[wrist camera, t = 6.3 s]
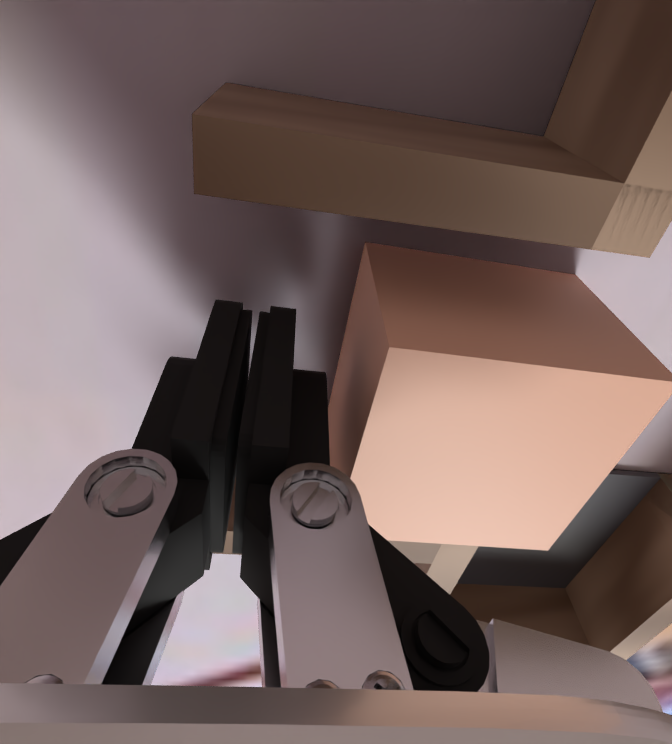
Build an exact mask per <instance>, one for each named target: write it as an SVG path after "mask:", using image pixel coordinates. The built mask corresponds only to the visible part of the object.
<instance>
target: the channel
mask: <svg viewBox="0 0 672 744" xmlns="http://www.w3.org/2000/svg"><path fill="white" fill-rule="evenodd" d="M192 135H193V172H194V194H199V195H206V196H213V197H220V198H227V199H234V200H241V201H249V202H256V203H263V204H270V205H277V206H284V207H291V208H299V209H306V210H313V211H320V212H327V213H334V214H341V215H349V216H356V217H363V218H370V219H377V220H384V221H391V222H399V223H406V224H413V225H420V226H427V227H434V228H441V229H449V230H456V231H463V232H470V233H477V234H484V235H491V236H499V237H506V238H513V239H520V240H527V241H534V242H541V243H548V244H556V245H563V246H570V247H577V248H584V249H591V250H598V251H606V252H613V253H620V254H627V255H634V256H641V257H648V258H650V256H651V254H652V253H653V251H654V249H655V248H656V246H657V244H658V243H659V241H660V239H661V238H662V236H663V234H664V233H665V231H666V229H667V227H668V226H669V224H670V222H671V221H672V0H596V1H595V4H594V7H593V9H592V12H591V14H590V17H589V20H588V22H587V25H586V27H585V30H584V33H583V35H582V38H581V40H580V43H579V46H578V48H577V51H576V53H575V56H574V59H573V61H572V64H571V66H570V69H569V72H568V74H567V77H566V79H565V82H564V85H563V87H562V90H561V92H560V95H559V98H558V100H557V103H556V105H555V108H554V111H553V113H552V116H551V118H550V121H549V124H548V126H547V129H546V131H545V134H544V136H538V135H532V134H526V133H520V132H514V131H508V130H502V129H497V128H491V127H485V126H479V125H473V124H467V123H461V122H455V121H449V120H444V119H438V118H432V117H426V116H420V115H414V114H408V113H402V112H397V111H391V110H385V109H379V108H373V107H367V106H361V105H355V104H349V103H344V102H338V101H332V100H326V99H320V98H314V97H308V96H302V95H296V94H291V93H285V92H279V91H273V90H267V89H261V88H255V87H249V86H244V85H238V84H232V83H225V84H224V85H223V86H222V87H221V88H219V89H218V90H217V91H216V92H215V93H214V94H213V95H212V96H211V97H210V98H209V99H208V100H207V101H205V102H204V103H203V104H202V105H201V106H200V107H199V108H198V109H197V110H196V111H195V112H194V113H192ZM235 485H236V478H235V484H234V491H233V497H232V503H231V509H230V515H229V521H228V528H227V534H226V540H225V546H224V551H223V553H217V554H233V553H232V546H233V525H234V505H235ZM387 541H388V542H390V543H391V544H392V545H393V546H394V547H395V548H397V549H398V550H399V551H400V552H401V553H402V554H403V555H405V556H406V557H407V558H408V559H409V560H410V561H412V562H413V563H414V564H415V565H416V566H417V567H419V568H420V569H421V570H422V571H423V572H424V573H425V574H427V575H428V576H429V577H430V578H431V579H432V580H434V581H435V582H436V583H437V584H438V585H439V586H440V587H442V588H443V589H444V590H445V591H446V592H447V593H449V594H450V595H451V596H452V597H453V598H454V599H456V600H457V601H458V602H459V603H460V604H461V605H462V606H464V607H465V608H466V609H467V611H468V612H469V613H470V614H471V615H472V616H473V617H474V618H475V619H476V620H479V621H482V622H486V623H490V622H491V620H492V619H493V618H494V619H497V620H501V621H504V622H508V623H511V624H515V625H518V626H522V627H525V628H529V629H532V630H536V631H539V632H543V633H546V634H550V635H554V636H557V637H561V638H564V639H568V640H571V641H575V642H578V643H582V644H585V645H589V646H592V647H596V648H599V649H603V650H606V651H609V652H611V653H613V654H615V655H618V656H620V657H622V658H624V659H625V660H627V659H628V658H629V657H630V656H632V655H633V654H634V653H635V652H637V651H638V650H639V649H640V648H642V647H643V646H644V645H645V644H647V643H648V642H649V641H650V640H652V639H653V638H654V637H655V636H657V635H658V634H659V633H660V632H662V631H663V630H664V629H665V628H667V627H668V626H669V625H670V624H671V623H672V474H662V473H649V472H636V471H623V470H611V472H610V473H609V474H608V476H607V477H606V478H605V479H604V481H603V482H602V483H601V484H600V486H599V487H598V488H597V489H596V491H595V492H594V493H593V494H592V496H591V497H590V498H589V499H588V501H587V502H586V503H585V505H584V506H583V507H582V508H581V510H580V511H579V512H578V513H577V515H576V516H575V517H574V518H573V520H572V521H571V522H570V523H569V525H568V526H567V527H566V528H565V530H564V531H563V532H562V534H561V535H560V536H559V537H558V539H557V540H556V541H555V542H554V544H553V545H552V546H551V547H550V549H549V550H548V551H546V550H531V549H515V548H499V547H484V546H468V545H452V544H436V543H421V542H405V541H389V540H387ZM213 553H214V552H213ZM238 555H242V554H238Z"/></svg>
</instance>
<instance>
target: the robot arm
mask: <svg viewBox="0 0 672 744" xmlns="http://www.w3.org/2000/svg"><path fill="white" fill-rule="evenodd" d="M251 324H252V311H251V310H243V303H241V302H233V301H224V300H215V303H214V306H213V309H212V312H211V315H210V318H209V321H208V324H207V327H206V330H205V333H204V336H203V339H202V342H201V345H200V349H199V352H198V355H197V358H196V359H190V358H181V357H170V358H169V359H168V361H167V363H166V365H165V368H164V370H163V373H162V375H161V378H160V380H159V383H158V385H157V388H156V390H155V393H154V395H153V397H152V400H151V402H150V405H149V407H148V410H147V412H146V415H145V417H144V420H143V422H142V425H141V427H140V430H139V432H138V434H137V437H136V439H135V442H134V444H133V447H132V449H127V450H120V451H115V452H113V453H110V454H107V455H104V456H102V457H100V458H99V459H97V460H95V461H94V462H92V463H91V464H89V465H88V466H87V467H86V468H85V469H84V470H83V471H82V472H81V473H80V474H79V476H78V477H77V478H76V480H75V481H74V483H73V484H72V485H71V487H70V488H69V490H68V491H67V492H66V494H65V495H64V497H63V498H62V500H61V501H60V502H59V504H58V505H57V507H56V508H55V509H54V511H53V512H52V513H51V514H49V515H47V516H45V517H43V518H41V519H39V520H37V521H35V522H33V523H31V524H30V525H28V526H26V527H24V528H22V529H20V530H18V531H16V532H14V533H12V534H10V535H9V536H7V537H5V538H3V539H1V540H0V744H672V715H669V714H666V713H663V711H662V708H661V705H660V703H659V701H658V699H657V697H656V695H655V692H654V690H653V688H652V687H651V686H650V684H649V683H648V682H647V681H646V679H645V678H644V677H643V675H642V674H641V673H640V672H639V671H638V670H637V669H636V668H635V667H633V666H632V665H631V664H630V663H629V662H627V661H626V660H625V659H624V658H622V657H620V656H618V655H615V654H613V653H611V652H609V651H606V650H603V649H599V648H596V647H592V646H589V645H585V644H582V643H578V642H575V641H571V640H568V639H564V638H561V637H557V636H554V635H550V634H546V633H543V632H539V631H536V630H532V629H529V628H525V627H522V626H518V625H515V624H511V623H508V622H504V621H501V620H497V619H494V618H493V619H492V620H491V622H490V623H486V622H482V621H479V620H476V619H475V618H474V617H473V616H472V615H471V614H470V613H469V612H468V611H467V609H466V608H465V607H464V606H462V605H461V604H460V603H459V602H458V601H457V600H456V599H454V598H453V597H452V596H451V595H450V594H449V593H447V592H446V591H445V590H444V589H443V588H442V587H440V586H439V585H438V584H437V583H436V582H435V581H434V580H432V579H431V578H430V577H429V576H428V575H427V574H425V573H424V572H423V571H422V570H421V569H420V568H419V567H417V566H416V565H415V564H414V563H413V562H412V561H410V560H409V559H408V558H407V557H406V556H405V555H403V554H402V553H401V552H400V551H399V550H398V549H397V548H395V547H394V546H393V545H392V544H391V543H390V542H388V541H387V540H386V539H385V538H384V537H383V536H382V535H380V534H379V533H378V532H377V531H376V530H375V529H373V528H372V527H371V526H370V525H369V524H368V522H367V518H366V514H365V511H364V507H363V503H362V500H361V496H360V494H359V491H358V489H357V487H356V485H355V484H354V482H353V481H352V480H351V479H350V478H349V477H348V476H347V475H346V474H345V473H343V472H341V471H340V470H338V469H337V468H335V467H332V466H330V450H329V424H328V398H327V376H326V372H317V371H307V370H297V369H293V363H294V343H295V324H296V309H291V308H283V307H275V306H271V309H270V313H268V312H260V314H259V320H258V326H257V332H256V338H255V344H254V350H253V355H252V361H251V367H250V373H249V356H250V340H251ZM248 373H249V379H248ZM235 478H236V485H235V505H234V525H233V546H232V553H233V554H242V559H241V573H240V578H241V579H242V580H243V581H244V582H245V583H246V585H247V586H248V587H249V588H250V589H251V590H252V591H253V592H254V594H255V595H256V596H257V597H258V601H257V610H258V627H259V644H260V660H261V677H262V687H218V686H160V685H151V683H152V680H153V678H154V675H155V672H156V670H157V667H158V664H159V662H160V659H161V656H162V654H163V651H164V648H165V646H166V643H167V640H168V638H169V635H170V632H171V630H172V627H173V624H174V622H175V619H176V616H177V614H178V611H179V608H180V606H181V603H182V599H183V594H184V590H185V589H186V588H188V587H189V586H190V585H192V584H193V583H194V582H196V581H197V580H198V579H200V578H201V577H202V576H203V574H204V570H209V569H210V564H211V558H212V553H213V552H214V553H223V551H224V546H225V540H226V534H227V528H228V521H229V515H230V509H231V503H232V497H233V491H234V484H235Z"/></svg>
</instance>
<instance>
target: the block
mask: <svg viewBox="0 0 672 744" xmlns="http://www.w3.org/2000/svg"><path fill="white" fill-rule="evenodd" d="M671 395H672V373H671V372H670V371H669V370H668V369H667V368H666V367H665V366H664V365H663V364H662V363H661V362H660V361H659V360H658V359H657V358H656V357H655V356H654V355H653V354H652V353H651V352H650V351H649V350H648V349H647V348H646V346H645V345H644V344H643V343H642V342H641V341H640V340H639V339H638V338H637V337H636V336H635V335H634V334H633V333H632V332H631V331H630V330H629V329H628V328H627V327H626V326H625V325H624V324H623V323H622V322H621V321H620V320H619V319H618V318H617V317H616V316H615V315H614V314H613V313H612V312H611V311H610V310H609V309H608V308H607V306H606V305H605V304H604V303H603V302H602V301H601V300H600V299H599V298H598V297H597V296H596V295H595V294H594V293H593V292H592V291H591V290H590V289H589V288H588V287H587V286H586V285H585V284H584V283H583V282H582V281H581V280H580V279H579V278H578V277H577V276H576V275H575V274H568V273H562V272H556V271H549V270H543V269H536V268H530V267H523V266H517V265H511V264H504V263H498V262H491V261H485V260H478V259H472V258H466V257H459V256H453V255H446V254H440V253H433V252H427V251H421V250H414V249H408V248H401V247H395V246H388V245H382V244H376V243H369V242H365V245H364V249H363V254H362V258H361V263H360V267H359V272H358V276H357V281H356V285H355V290H354V294H353V298H352V303H351V307H350V312H349V316H348V321H347V325H346V330H345V334H344V339H343V343H342V348H341V352H340V357H339V361H338V366H337V370H336V375H335V379H334V384H333V388H332V392H331V397H330V401H329V406H328V424H329V450H330V466H332V467H335V468H337V469H338V470H340V471H341V472H343V473H345V474H346V475H347V476H348V477H349V478H350V479H351V480H352V481H353V482H354V484H355V485H356V487H357V489H358V491H359V494H360V496H361V500H362V503H363V507H364V511H365V514H366V518H367V522H368V524H369V525H370V526H371V527H372V528H373V529H375V530H376V531H377V532H378V533H379V534H380V535H382V536H383V537H384V538H385V539H386V540H389V541H405V542H421V543H436V544H452V545H468V546H484V547H499V548H515V549H531V550H546V551H548V550H549V549H550V547H551V546H552V545H553V544H554V542H555V541H556V540H557V539H558V537H559V536H560V535H561V534H562V532H563V531H564V530H565V528H566V527H567V526H568V525H569V523H570V522H571V521H572V520H573V518H574V517H575V516H576V515H577V513H578V512H579V511H580V510H581V508H582V507H583V506H584V505H585V503H586V502H587V501H588V499H589V498H590V497H591V496H592V494H593V493H594V492H595V491H596V489H597V488H598V487H599V486H600V484H601V483H602V482H603V481H604V479H605V478H606V477H607V476H608V474H609V473H610V472H611V470H612V469H613V468H614V467H615V465H616V464H617V463H618V462H619V460H620V459H621V458H622V457H623V455H624V454H625V453H626V452H627V450H628V449H629V448H630V447H631V445H632V444H633V443H634V442H635V440H636V439H637V438H638V436H639V435H640V434H641V433H642V431H643V430H644V429H645V428H646V426H647V425H648V424H649V423H650V421H651V420H652V419H653V418H654V416H655V415H656V414H657V413H658V411H659V410H660V409H661V407H662V406H663V405H664V404H665V402H666V401H667V400H668V399H669V397H670V396H671Z"/></svg>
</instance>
